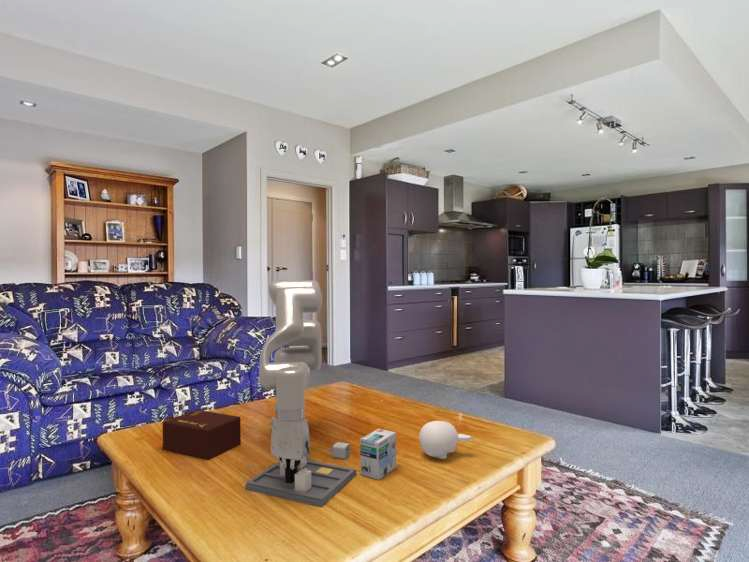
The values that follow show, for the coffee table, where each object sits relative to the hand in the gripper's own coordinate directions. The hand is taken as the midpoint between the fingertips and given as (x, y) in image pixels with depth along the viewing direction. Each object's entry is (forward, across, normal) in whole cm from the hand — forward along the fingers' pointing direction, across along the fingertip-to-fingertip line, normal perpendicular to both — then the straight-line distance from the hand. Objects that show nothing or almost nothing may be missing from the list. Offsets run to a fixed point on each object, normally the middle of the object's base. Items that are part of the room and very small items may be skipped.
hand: (291, 481), depth 121 cm
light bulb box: (+3, +17, +21) cm, 27 cm away
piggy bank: (+3, +32, +40) cm, 51 cm away
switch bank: (+3, 0, +6) cm, 7 cm away
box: (+3, -46, +15) cm, 49 cm away
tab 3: (+1, +4, 0) cm, 4 cm away
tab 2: (+1, -5, +12) cm, 13 cm away
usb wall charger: (+3, 0, +26) cm, 26 cm away
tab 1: (+1, -5, +6) cm, 8 cm away
